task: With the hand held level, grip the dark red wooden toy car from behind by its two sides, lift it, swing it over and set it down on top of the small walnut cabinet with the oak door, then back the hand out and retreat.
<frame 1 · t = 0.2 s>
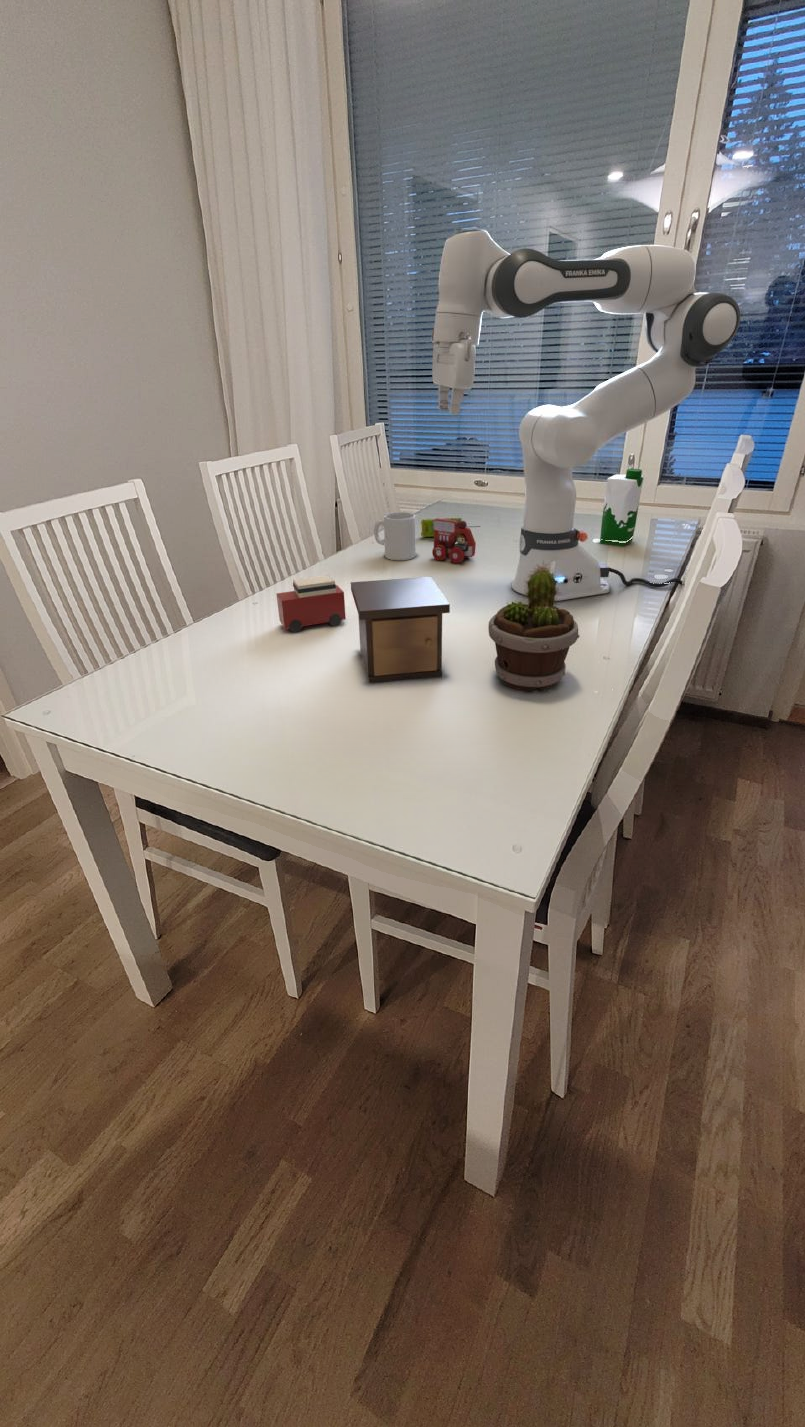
hand: (448, 412, 130), 39 cm above the table, tool pointing down, fingers open, 8 cm apart
toy fire truck: (453, 559, 175), on the table
mug: (394, 556, 178), on the table
car: (313, 624, 135), on the table
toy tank: (452, 538, 194), on the table
cabinet: (399, 663, 118), on the table
milk carton: (615, 542, 186), on the table
flowerpot: (528, 679, 112), on the table
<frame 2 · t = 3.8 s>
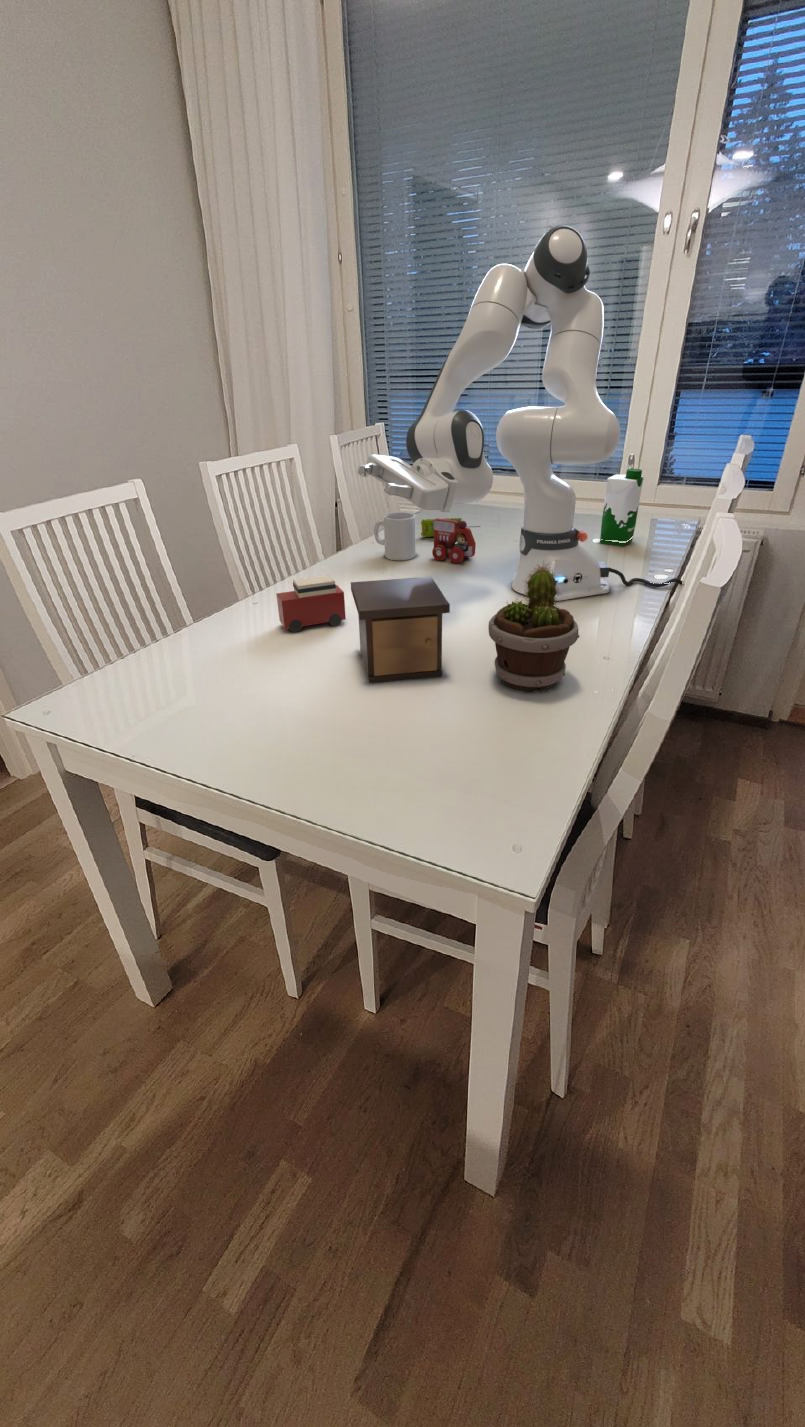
hand: (372, 479, 123), 28 cm above the table, tool horizontal, fingers open, 8 cm apart
nothing on the table moved.
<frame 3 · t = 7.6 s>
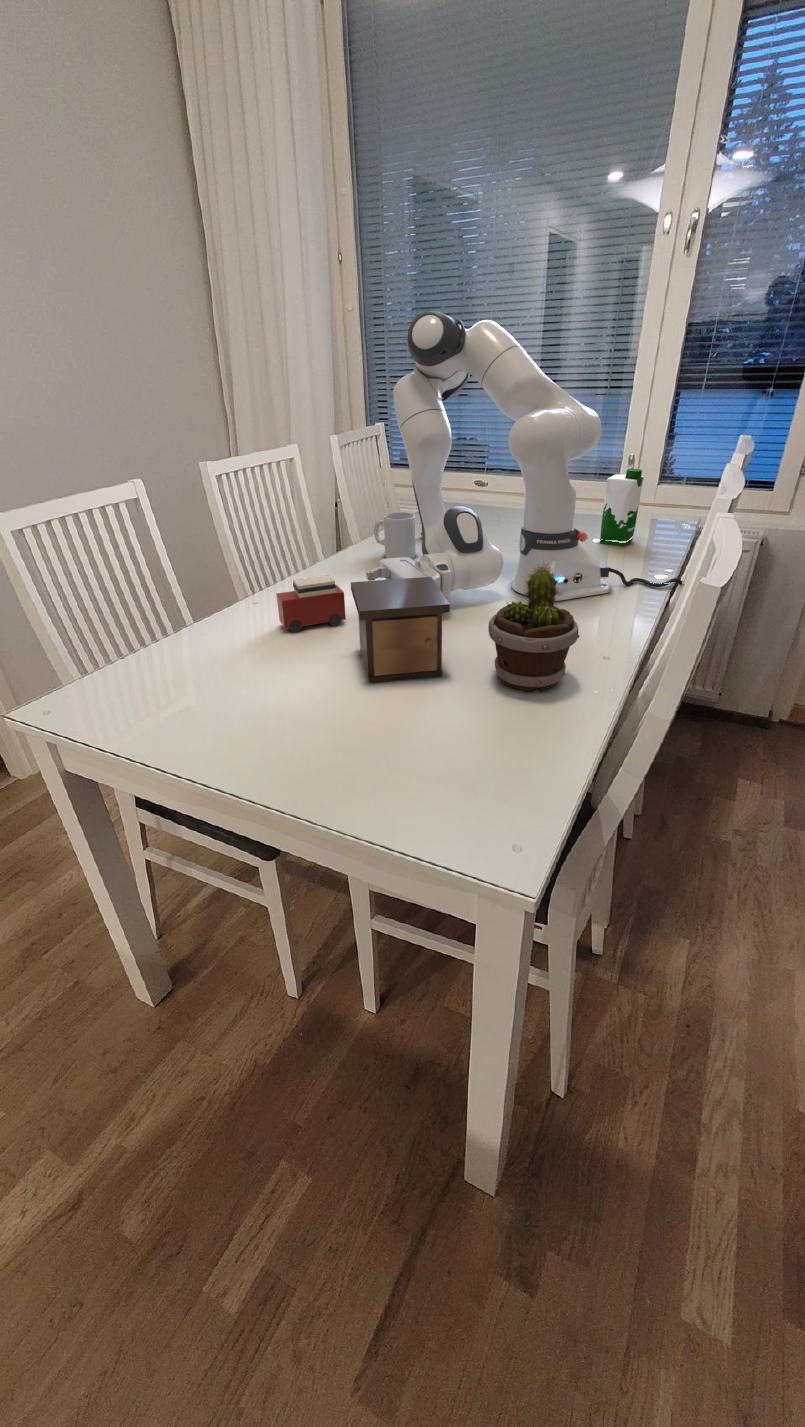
hand: (373, 582, 136), 7 cm above the table, tool horizontal, fingers open, 8 cm apart
nothing on the table moved.
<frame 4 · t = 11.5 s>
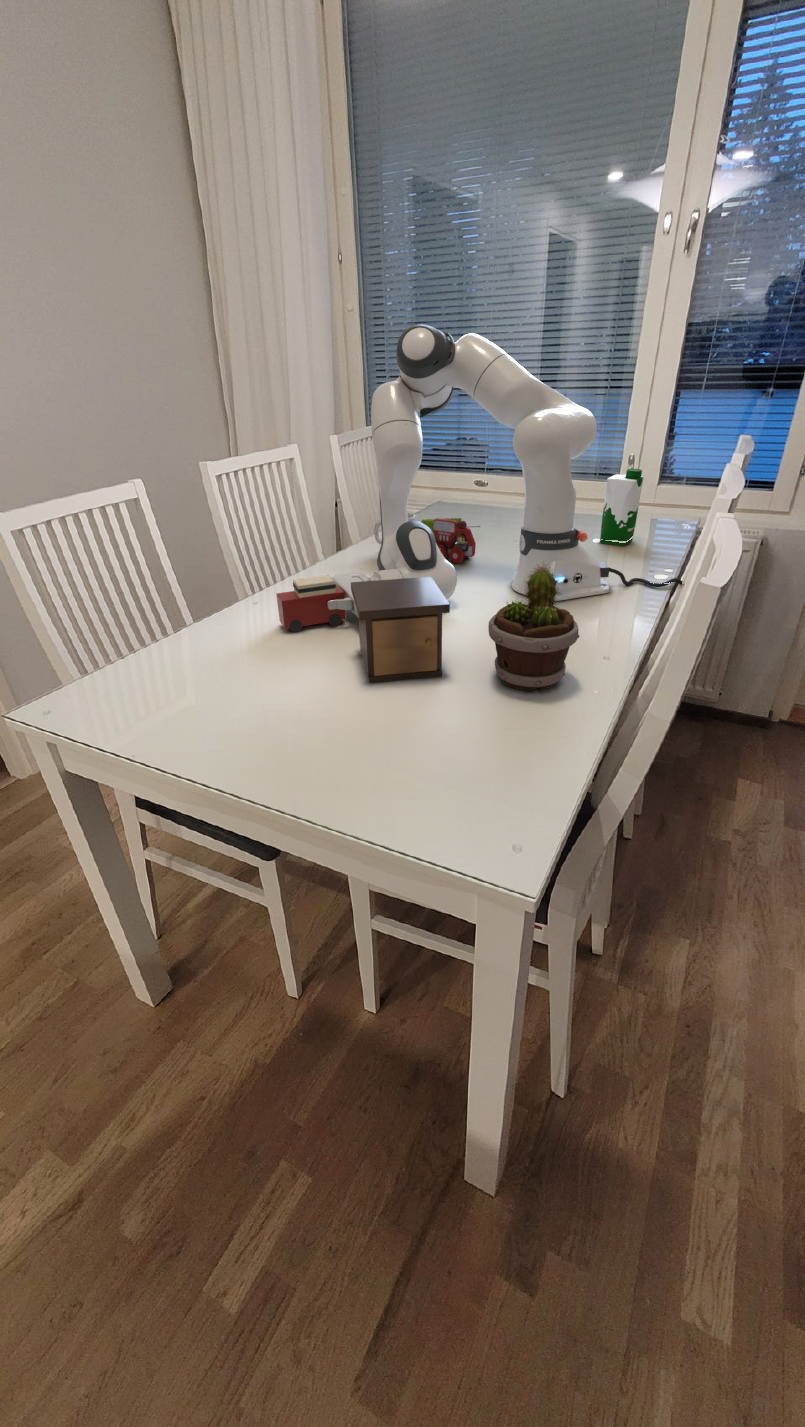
hand: (323, 600, 133), 5 cm above the table, tool horizontal, fingers closed on car, 5 cm apart
car: (313, 624, 135), on the table, touching gripper
everything else where it was.
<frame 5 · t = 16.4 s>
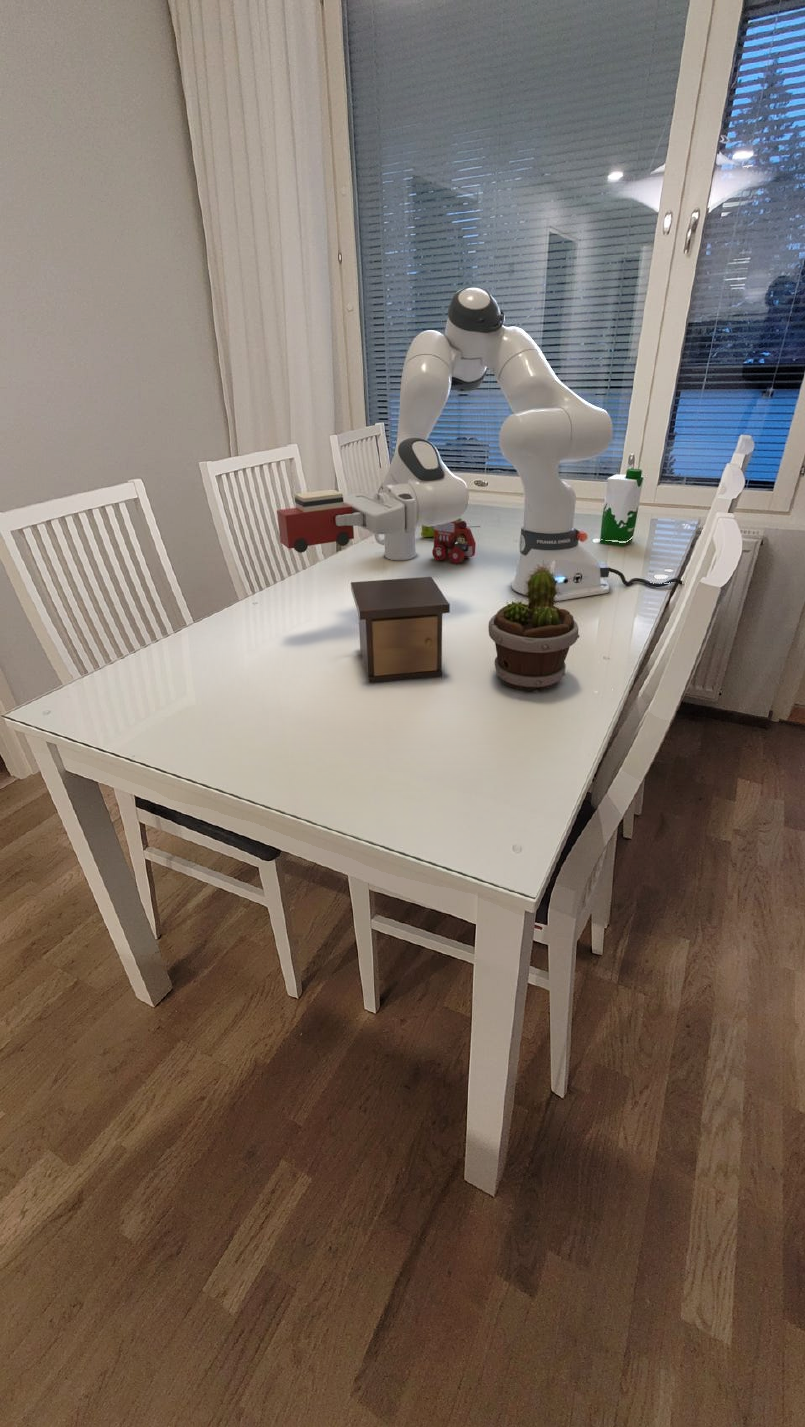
hand: (328, 517, 120), 23 cm above the table, tool horizontal, fingers closed on car, 5 cm apart
car: (318, 546, 122), point 18 cm above the table, touching gripper
everything else where it was.
when the fingers open (19 cm above the table, at t = 21.3 s): car stays where it is, resting on cabinet.
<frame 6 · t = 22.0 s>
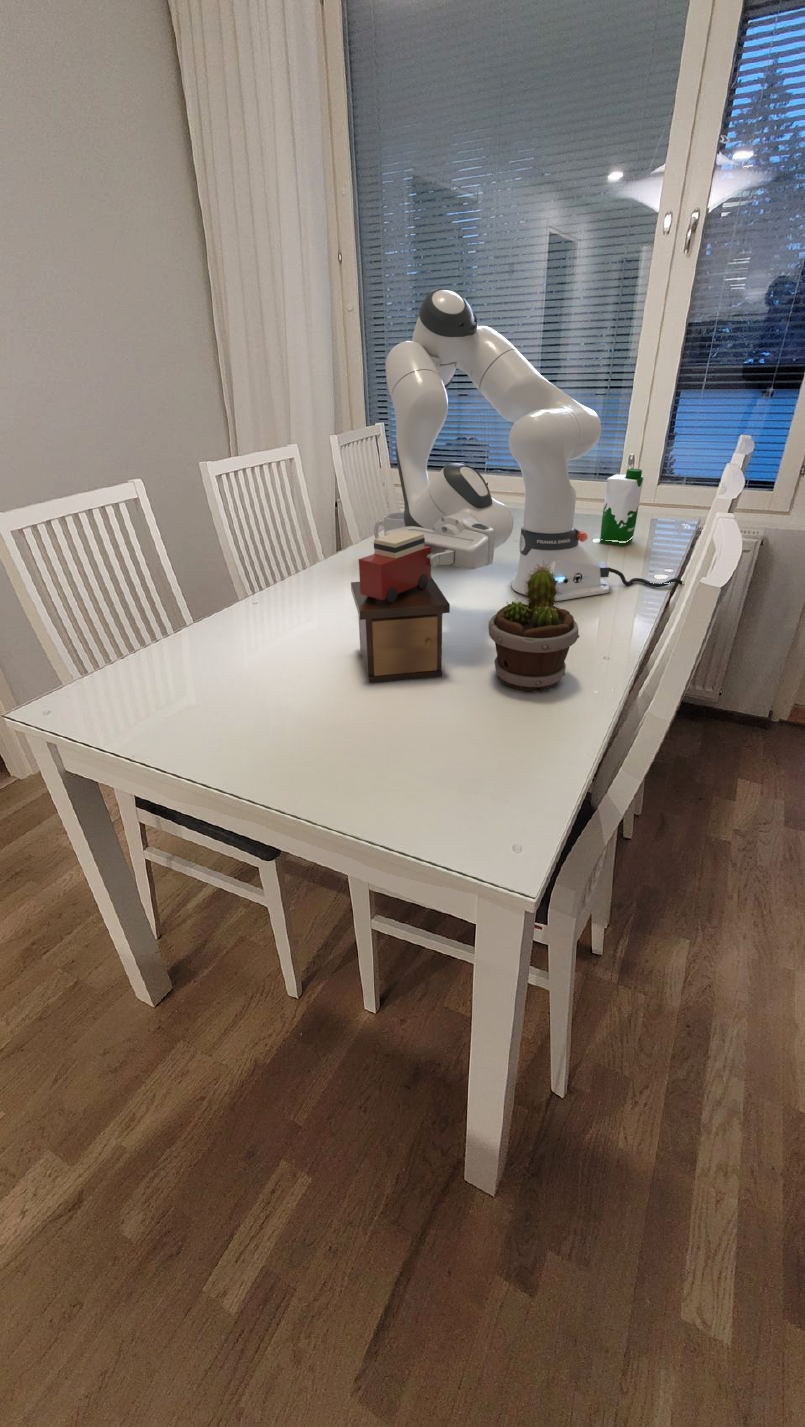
hand: (407, 556, 110), 19 cm above the table, tool horizontal, fingers open, 8 cm apart
car: (396, 592, 111), point 13 cm above the table, touching cabinet
everything else where it was.
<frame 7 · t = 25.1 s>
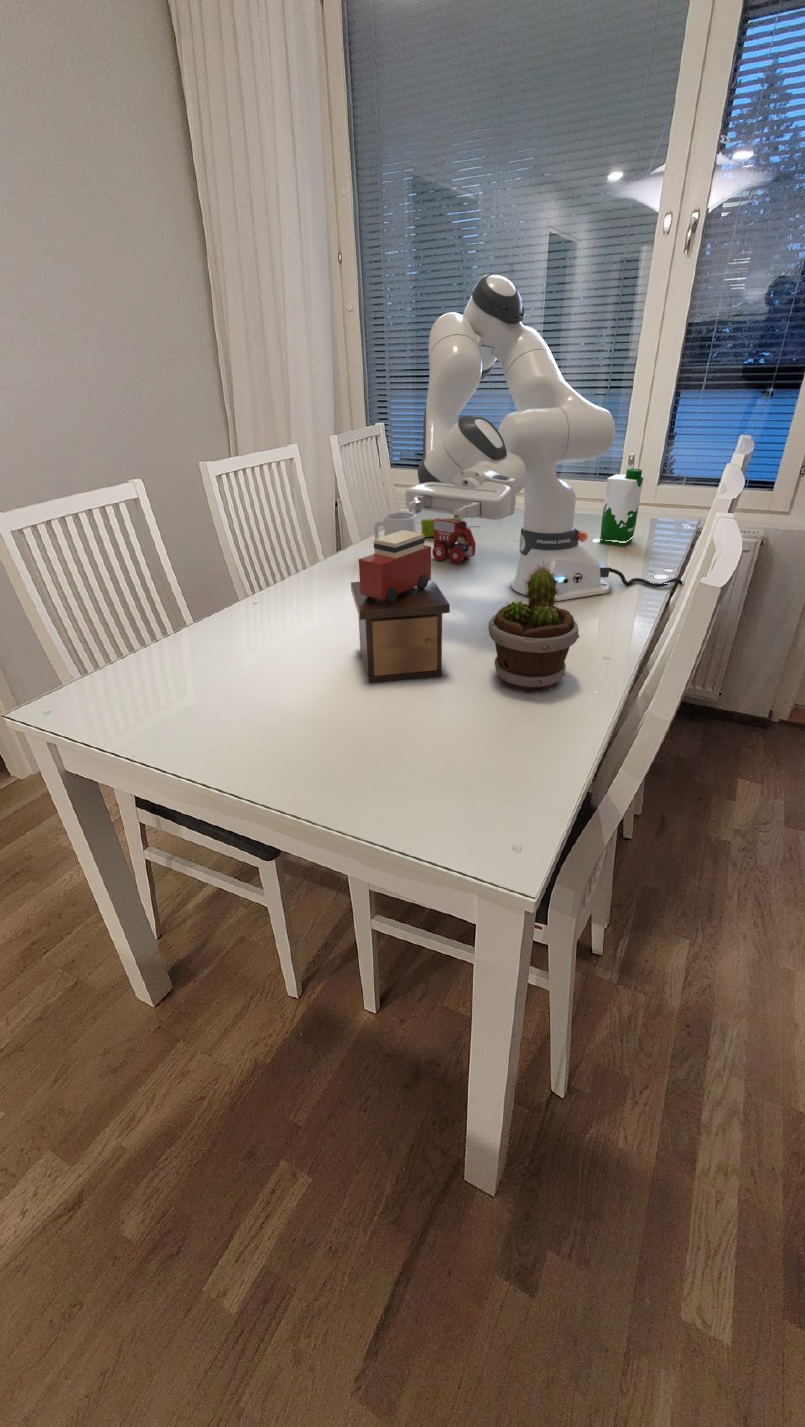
hand: (434, 511, 112), 25 cm above the table, tool horizontal, fingers open, 8 cm apart
nothing on the table moved.
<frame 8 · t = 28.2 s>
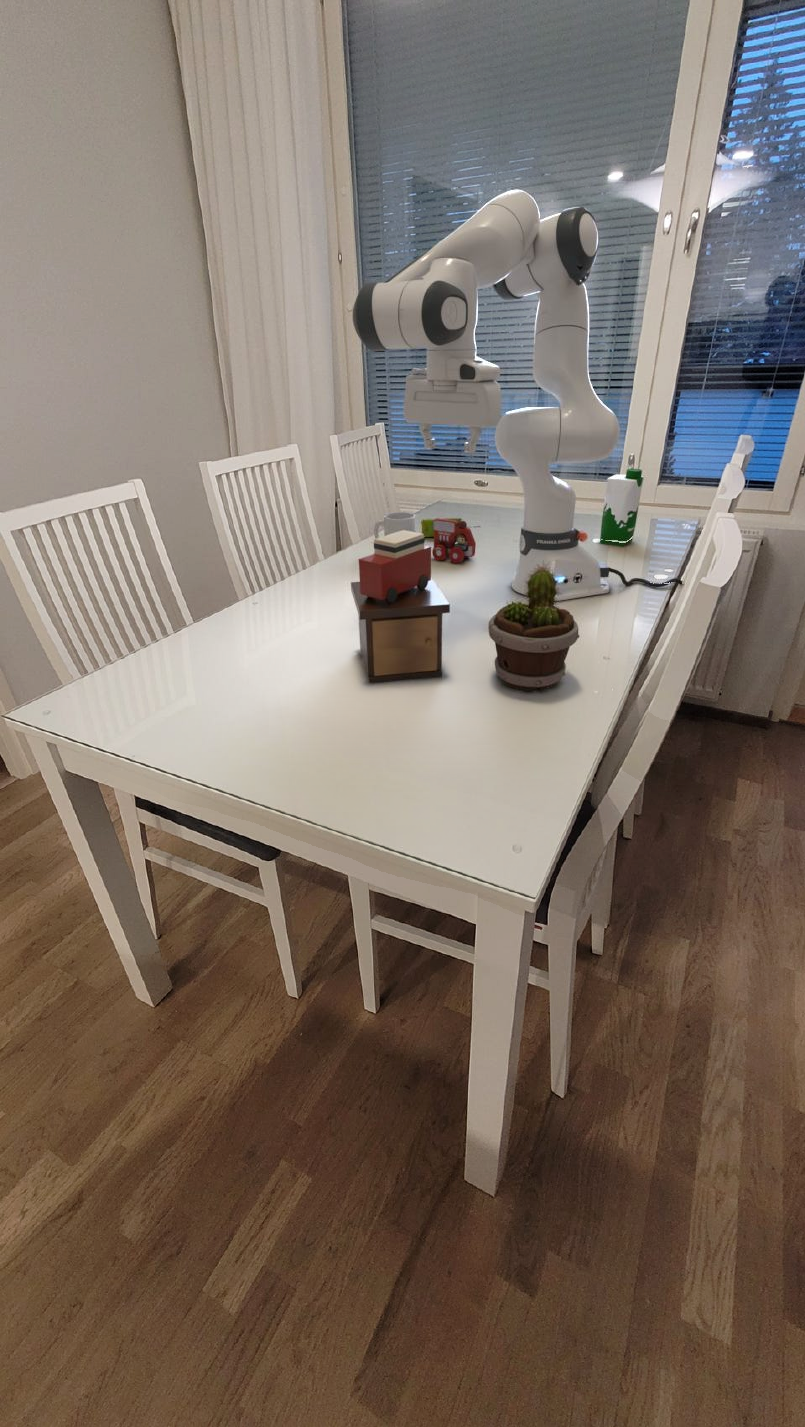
hand: (449, 451, 122), 33 cm above the table, tool pointing down, fingers open, 8 cm apart
nothing on the table moved.
at the end: car inside the target area on the cabinet (0.2 cm from its centre), point 13.5 cm above the cabinet's base; car tilted 0°; the gripper is holding nothing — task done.
